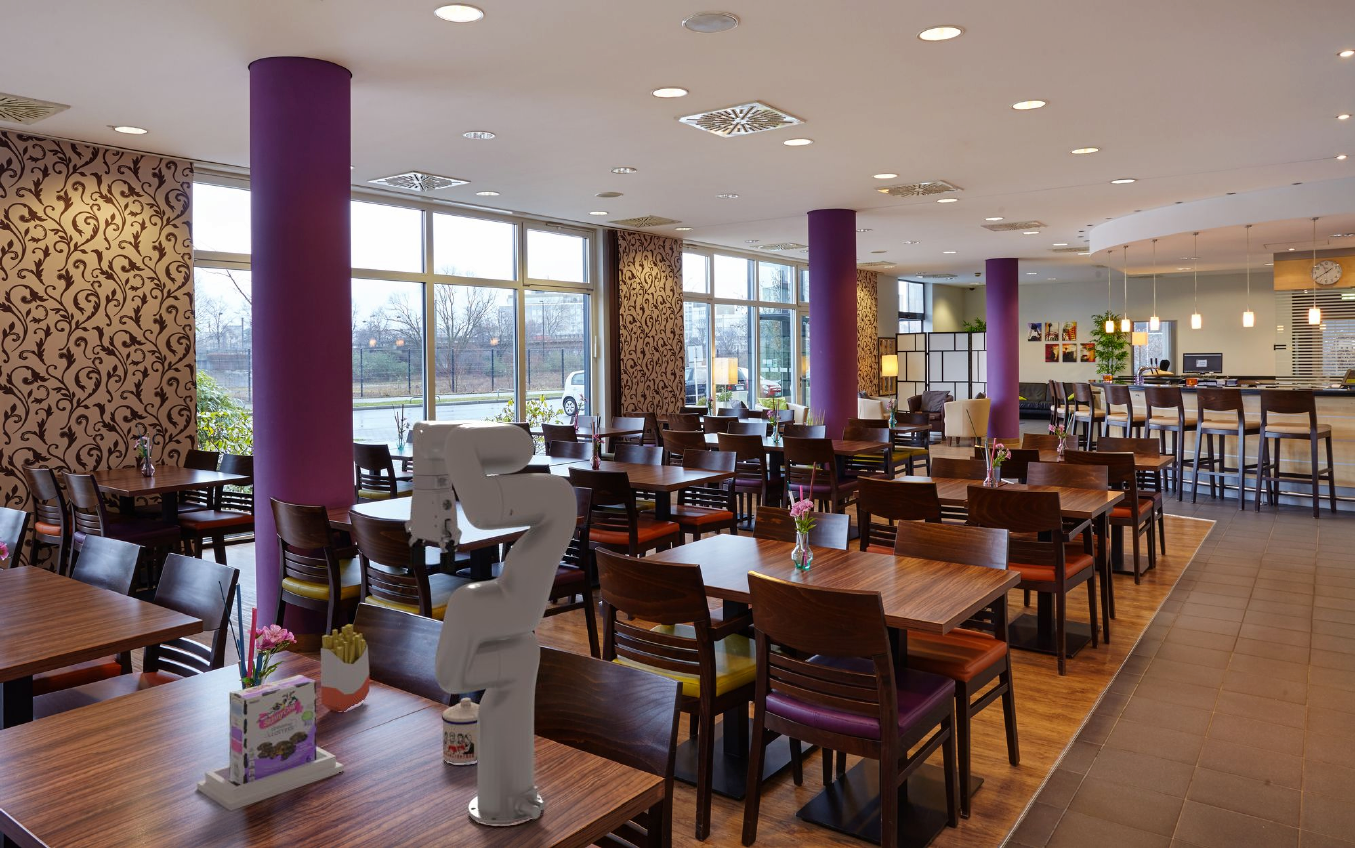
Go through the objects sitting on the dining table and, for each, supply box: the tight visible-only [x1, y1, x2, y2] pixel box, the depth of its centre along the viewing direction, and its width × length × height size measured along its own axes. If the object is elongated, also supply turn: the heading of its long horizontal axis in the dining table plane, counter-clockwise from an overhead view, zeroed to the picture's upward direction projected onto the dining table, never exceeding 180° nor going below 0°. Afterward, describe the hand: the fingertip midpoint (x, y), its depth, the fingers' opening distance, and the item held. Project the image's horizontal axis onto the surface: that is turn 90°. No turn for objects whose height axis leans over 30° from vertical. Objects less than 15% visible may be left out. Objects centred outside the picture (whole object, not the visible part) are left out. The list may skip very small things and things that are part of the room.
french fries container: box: [320, 623, 370, 712], centre depth 204 cm, size 5×11×18 cm, turn 160°
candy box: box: [229, 674, 317, 786], centre depth 166 cm, size 14×6×16 cm, turn 141°
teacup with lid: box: [441, 697, 479, 763], centre depth 177 cm, size 12×9×12 cm
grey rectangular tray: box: [196, 745, 345, 812], centre depth 167 cm, size 13×21×3 cm, turn 140°
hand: (432, 568), depth 181 cm, fingers open, 9 cm apart
